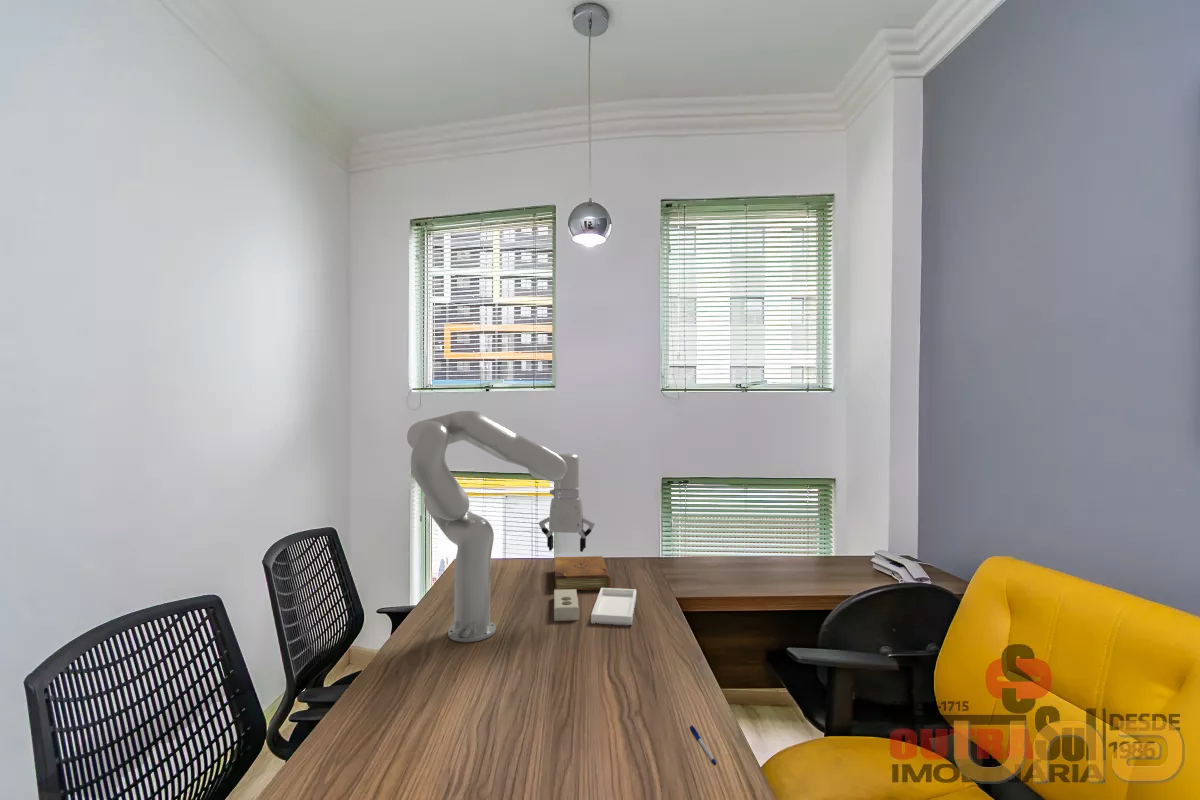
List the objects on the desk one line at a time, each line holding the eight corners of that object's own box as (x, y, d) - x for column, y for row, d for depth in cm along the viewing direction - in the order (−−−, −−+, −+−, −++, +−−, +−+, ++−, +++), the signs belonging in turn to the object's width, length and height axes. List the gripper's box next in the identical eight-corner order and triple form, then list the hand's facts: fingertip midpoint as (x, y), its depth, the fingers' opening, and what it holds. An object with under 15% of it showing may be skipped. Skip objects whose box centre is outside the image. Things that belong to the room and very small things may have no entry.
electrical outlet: (576, 586, 166) (578, 607, 148) (576, 598, 166) (578, 621, 148) (554, 586, 165) (554, 607, 147) (554, 599, 165) (554, 622, 147)
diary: (610, 592, 173) (610, 574, 173) (554, 593, 171) (555, 576, 172) (603, 570, 196) (603, 555, 196) (554, 571, 194) (554, 556, 194)
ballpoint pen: (688, 729, 97) (688, 723, 97) (692, 728, 97) (692, 723, 98) (713, 766, 87) (713, 760, 87) (718, 765, 87) (718, 759, 87)
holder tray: (631, 625, 144) (631, 616, 144) (591, 623, 146) (591, 614, 146) (636, 597, 166) (636, 589, 167) (601, 595, 168) (601, 587, 168)
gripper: (536, 495, 154) (535, 552, 154) (592, 496, 152) (592, 554, 152) (542, 491, 162) (541, 545, 161) (596, 492, 160) (596, 547, 159)
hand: (566, 549), depth 157 cm, fingers open, 9 cm apart
